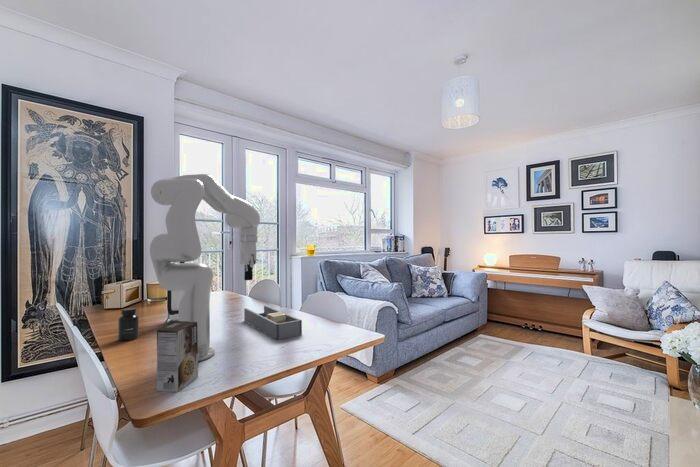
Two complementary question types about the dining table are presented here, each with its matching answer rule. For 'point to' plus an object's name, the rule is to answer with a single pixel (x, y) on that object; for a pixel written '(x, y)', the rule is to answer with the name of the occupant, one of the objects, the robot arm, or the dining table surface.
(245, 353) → the dining table surface
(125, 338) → the supplement bottle
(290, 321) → the trap box
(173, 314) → the coffee press
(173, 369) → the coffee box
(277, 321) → the beech block
